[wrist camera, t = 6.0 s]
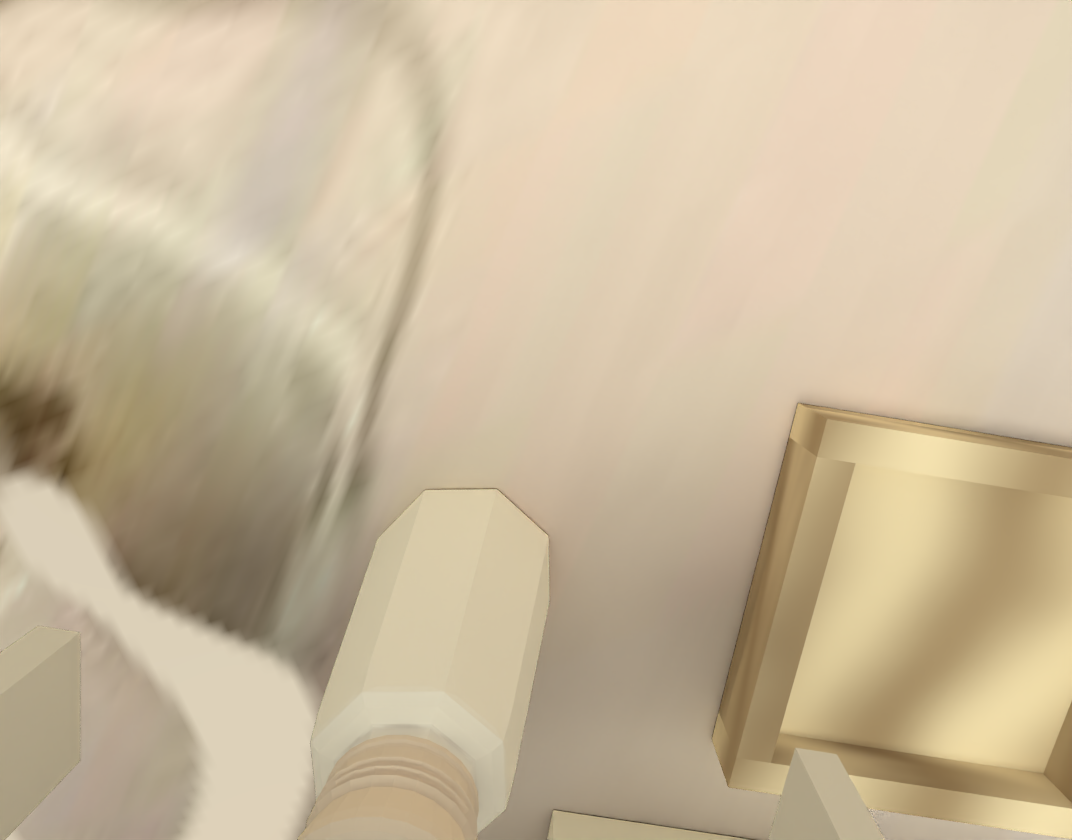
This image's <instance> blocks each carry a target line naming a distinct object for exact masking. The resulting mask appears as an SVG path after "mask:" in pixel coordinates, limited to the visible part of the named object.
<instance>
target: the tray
mask: <svg viewBox="0 0 1072 840" xmlns="http://www.w3.org/2000/svg"><path fill="white" fill-rule="evenodd" d="M712 741H713V744H714V747H715V750H716V753H717V756H718V759H719V762H720V764H721V767H722V770H723V773H724V776H725V779H726V782H727V785H728V787H730V788H736V789H743V790H750V791H756V792H763V793H770V794H776V795H782V791H783V788H784V784H785V781H786V778H787V774H788V771H789V768H790V764H791V761H792V757H793V754H794V751H795V748H801V749H807V750H813V751H820V752H826V753H832V754H837V756H838V757H839V759H840V761H841V763H842V764H843V766H844V768H845V770H846V771H847V773H848V775H849V777H850V779H851V780H852V782H853V784H854V786H855V787H856V789H857V791H858V793H859V794H860V796H861V798H862V800H863V802H864V803H865V805H866V807H867V808H869V809H876V810H882V811H889V812H895V813H902V814H909V815H915V816H922V817H928V818H935V819H942V820H948V821H955V822H962V823H968V824H975V825H981V826H988V827H995V828H1001V829H1008V830H1015V831H1021V832H1028V833H1034V834H1041V835H1048V836H1054V837H1061V838H1068V839H1072V448H1071V447H1065V446H1059V445H1053V444H1047V443H1041V442H1034V441H1028V440H1022V439H1016V438H1010V437H1004V436H998V435H992V434H985V433H979V432H973V431H967V430H961V429H955V428H949V427H943V426H936V425H930V424H924V423H918V422H912V421H906V420H900V419H894V418H887V417H881V416H875V415H869V414H863V413H857V412H851V411H845V410H838V409H832V408H826V407H820V406H814V405H808V404H802V403H798V405H797V409H796V413H795V417H794V421H793V425H792V429H791V433H790V437H789V440H788V444H787V448H786V452H785V456H784V460H783V464H782V468H781V472H780V475H779V479H778V483H777V487H776V491H775V495H774V499H773V503H772V507H771V511H770V514H769V518H768V522H767V526H766V530H765V534H764V538H763V542H762V546H761V549H760V553H759V557H758V561H757V565H756V569H755V573H754V577H753V581H752V585H751V588H750V592H749V596H748V600H747V604H746V608H745V612H744V616H743V620H742V623H741V627H740V631H739V635H738V639H737V643H736V647H735V651H734V655H733V659H732V662H731V666H730V670H729V674H728V678H727V682H726V686H725V690H724V694H723V697H722V701H721V705H720V709H719V713H718V717H717V721H716V725H715V729H714V733H713V736H712Z"/></svg>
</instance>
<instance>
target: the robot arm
mask: <svg viewBox="0 0 1072 840" xmlns="http://www.w3.org/2000/svg"><path fill="white" fill-rule="evenodd" d="M79 762H80V632H75V631H69V630H63V629H56V628H50V627H44V626H37V627H36V628H34V629H33V630H31V631H30V632H29V633H27V634H26V635H24V636H23V637H22V638H20V639H19V640H17V641H16V642H14V643H13V644H12V645H10V646H9V647H7V648H6V649H5V650H3V651H2V652H0V840H5V839H6V838H7V837H8V836H9V835H10V834H11V833H12V832H13V831H14V830H15V829H16V828H17V827H18V826H19V825H20V824H21V823H22V821H23V820H24V819H25V818H26V817H27V816H28V815H29V814H30V813H31V812H32V811H33V810H34V809H35V808H36V807H37V806H38V805H39V804H40V803H41V802H42V800H43V799H44V798H45V797H46V796H47V795H48V794H49V793H50V792H51V791H52V790H53V789H54V788H55V787H56V786H57V785H58V784H59V783H60V782H61V780H62V779H63V778H64V777H65V776H66V775H67V774H68V773H69V772H70V771H71V770H72V769H73V768H74V767H75V766H76V765H77V764H78V763H79ZM768 840H885V839H884V837H883V835H882V833H881V832H880V830H879V828H878V826H877V825H876V823H875V821H874V819H873V817H872V816H871V814H870V812H869V810H868V809H867V807H866V805H865V803H864V802H863V800H862V798H861V796H860V794H859V793H858V791H857V789H856V787H855V786H854V784H853V782H852V780H851V779H850V777H849V775H848V773H847V771H846V770H845V768H844V766H843V764H842V763H841V761H840V759H839V757H838V756H837V754H832V753H826V752H820V751H813V750H807V749H801V748H795V751H794V754H793V757H792V761H791V764H790V768H789V771H788V774H787V778H786V781H785V784H784V788H783V791H782V795H781V798H780V801H779V805H778V808H777V811H776V815H775V818H774V822H773V825H772V828H771V832H770V835H769V839H768Z"/></svg>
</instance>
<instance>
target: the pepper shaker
mask: <svg viewBox="0 0 1072 840" xmlns="http://www.w3.org/2000/svg"><path fill="white" fill-rule="evenodd" d="M549 602H550V591H549V536H548V535H547V534H546V533H544V532H543V531H542V530H541V529H540V528H539V527H538V526H537V525H536V524H535V523H533V522H532V521H531V520H530V519H529V518H528V517H527V516H526V515H525V514H524V513H522V512H521V511H520V510H519V509H518V508H517V507H516V506H515V505H514V504H513V503H512V502H510V501H509V500H508V499H507V498H506V497H505V496H504V495H503V494H502V493H501V492H499V491H498V490H497V489H473V490H425V491H424V492H423V493H422V494H421V495H420V496H419V497H418V498H417V499H416V500H415V501H414V502H413V503H412V504H411V505H410V506H409V507H408V508H407V509H406V510H405V511H404V512H403V513H402V514H401V515H400V516H399V517H398V518H397V519H396V520H395V521H394V522H393V523H392V524H391V525H390V526H389V527H388V528H387V529H386V530H385V532H384V533H383V534H382V535H381V536H380V537H379V538H378V539H377V542H376V545H375V548H374V551H373V554H372V557H371V560H370V563H369V566H368V569H367V571H366V574H365V577H364V580H363V583H362V586H361V589H360V592H359V595H358V598H357V601H356V603H355V606H354V609H353V612H352V615H351V618H350V621H349V624H348V627H347V630H346V633H345V635H344V638H343V641H342V644H341V647H340V650H339V653H338V656H337V659H336V662H335V664H334V667H333V670H332V673H331V676H330V679H329V682H328V685H327V688H326V691H325V694H324V696H323V699H322V702H321V705H320V708H319V711H318V714H317V718H316V722H315V726H314V730H313V733H312V737H311V741H310V747H311V756H312V765H313V774H314V783H315V793H316V802H315V805H314V807H313V809H312V810H311V814H310V816H309V818H308V820H307V822H306V827H305V830H304V832H303V833H302V834H301V835H300V836H299V837H298V839H297V840H477V837H478V833H479V832H481V831H482V830H483V829H484V828H485V827H486V826H487V825H489V824H490V823H491V822H492V821H493V820H494V819H495V818H497V817H498V816H499V815H500V814H501V813H502V812H503V811H505V810H506V806H507V803H508V799H509V795H510V792H511V788H512V785H513V781H514V776H515V771H516V766H517V761H518V756H519V751H520V746H521V741H522V736H523V731H524V727H525V722H526V717H527V712H528V707H529V702H530V697H531V692H532V687H533V682H534V677H535V672H536V667H537V662H538V657H539V652H540V647H541V642H542V637H543V632H544V627H545V622H546V617H547V612H548V607H549Z"/></svg>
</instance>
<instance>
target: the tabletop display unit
mask: <svg viewBox="0 0 1072 840" xmlns="http://www.w3.org/2000/svg"><path fill="white" fill-rule="evenodd" d="M547 840H750V839H743V838H737V837H730V836H723V835H716V834H710V833H703V832H696V831H690V830H683V829H676V828H670V827H663V826H656V825H650V824H643V823H636V822H630V821H623V820H616V819H609V818H603V817H596V816H589V815H583V814H576V813H569V812H563V811H556V810H553V813H552V818H551V823H550V828H549V833H548V838H547Z"/></svg>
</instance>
